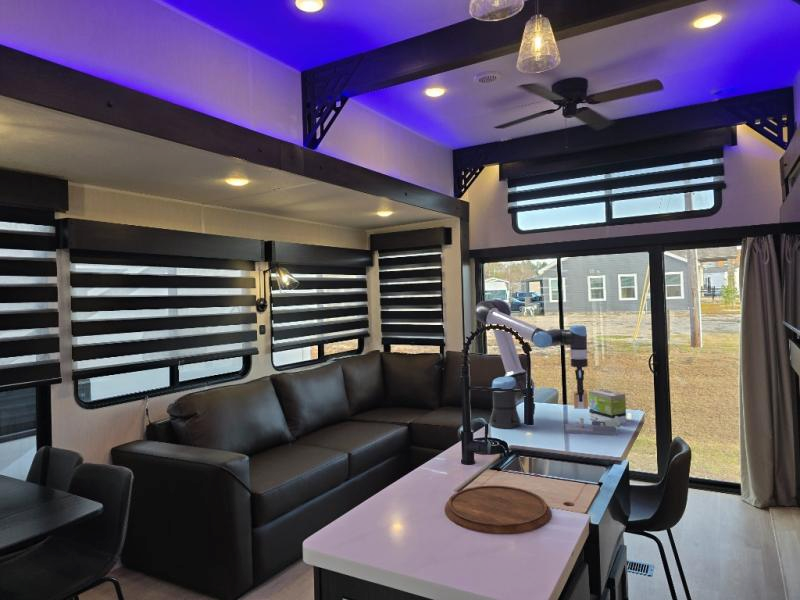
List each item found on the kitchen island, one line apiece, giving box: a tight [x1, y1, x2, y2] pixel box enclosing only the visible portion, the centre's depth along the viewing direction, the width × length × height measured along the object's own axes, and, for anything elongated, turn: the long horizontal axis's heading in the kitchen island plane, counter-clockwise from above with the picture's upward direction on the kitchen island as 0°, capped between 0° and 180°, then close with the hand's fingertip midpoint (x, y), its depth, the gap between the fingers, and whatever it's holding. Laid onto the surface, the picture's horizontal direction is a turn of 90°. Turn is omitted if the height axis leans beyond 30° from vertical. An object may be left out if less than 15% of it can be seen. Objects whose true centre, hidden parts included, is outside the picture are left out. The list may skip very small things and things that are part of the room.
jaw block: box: [573, 390, 589, 410], centre depth 246 cm, size 6×6×7 cm
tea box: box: [588, 388, 627, 425], centre depth 261 cm, size 15×10×15 cm
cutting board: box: [444, 485, 552, 535], centre depth 159 cm, size 32×32×2 cm
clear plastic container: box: [565, 417, 618, 436], centre depth 245 cm, size 22×12×6 cm, turn 72°
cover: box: [604, 416, 621, 428], centre depth 242 cm, size 6×9×3 cm
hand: (580, 406), depth 246 cm, fingers closed on jaw block, 6 cm apart
